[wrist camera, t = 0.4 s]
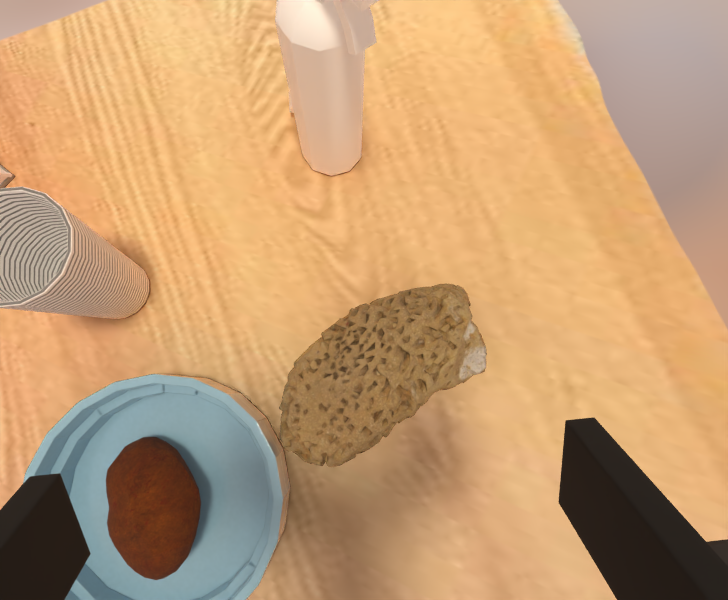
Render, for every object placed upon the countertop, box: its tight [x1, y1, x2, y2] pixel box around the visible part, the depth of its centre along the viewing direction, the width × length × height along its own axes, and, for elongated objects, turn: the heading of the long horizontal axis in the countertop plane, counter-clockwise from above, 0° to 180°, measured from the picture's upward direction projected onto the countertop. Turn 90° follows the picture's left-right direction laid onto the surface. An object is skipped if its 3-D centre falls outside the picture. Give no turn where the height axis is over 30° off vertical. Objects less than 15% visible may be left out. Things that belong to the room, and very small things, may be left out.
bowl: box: [23, 374, 290, 600], centre depth 41 cm, size 22×22×5 cm
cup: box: [0, 187, 150, 319], centre depth 39 cm, size 8×8×16 cm
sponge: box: [279, 284, 487, 467], centre depth 43 cm, size 13×8×20 cm
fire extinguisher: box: [275, 0, 379, 176], centre depth 38 cm, size 7×12×25 cm, turn 37°
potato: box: [106, 437, 201, 580], centre depth 39 cm, size 8×12×8 cm, turn 24°
